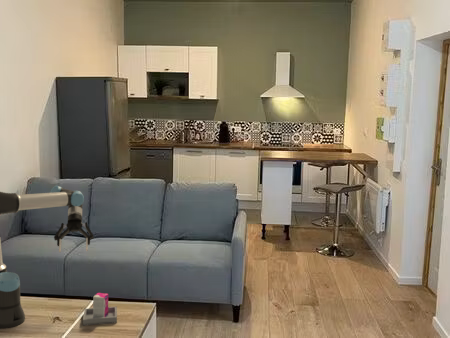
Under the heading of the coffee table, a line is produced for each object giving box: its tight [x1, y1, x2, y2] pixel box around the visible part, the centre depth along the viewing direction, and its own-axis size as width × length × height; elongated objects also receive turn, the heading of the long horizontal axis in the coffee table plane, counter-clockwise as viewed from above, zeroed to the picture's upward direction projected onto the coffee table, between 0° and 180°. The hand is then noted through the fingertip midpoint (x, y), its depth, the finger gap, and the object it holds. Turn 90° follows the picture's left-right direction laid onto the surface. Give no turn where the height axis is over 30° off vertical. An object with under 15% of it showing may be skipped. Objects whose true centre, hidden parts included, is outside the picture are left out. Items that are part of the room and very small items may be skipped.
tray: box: [82, 305, 118, 327], centre depth 241 cm, size 16×13×3 cm
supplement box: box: [92, 292, 109, 318], centre depth 241 cm, size 6×6×12 cm
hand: (73, 250), depth 255 cm, fingers open, 13 cm apart
